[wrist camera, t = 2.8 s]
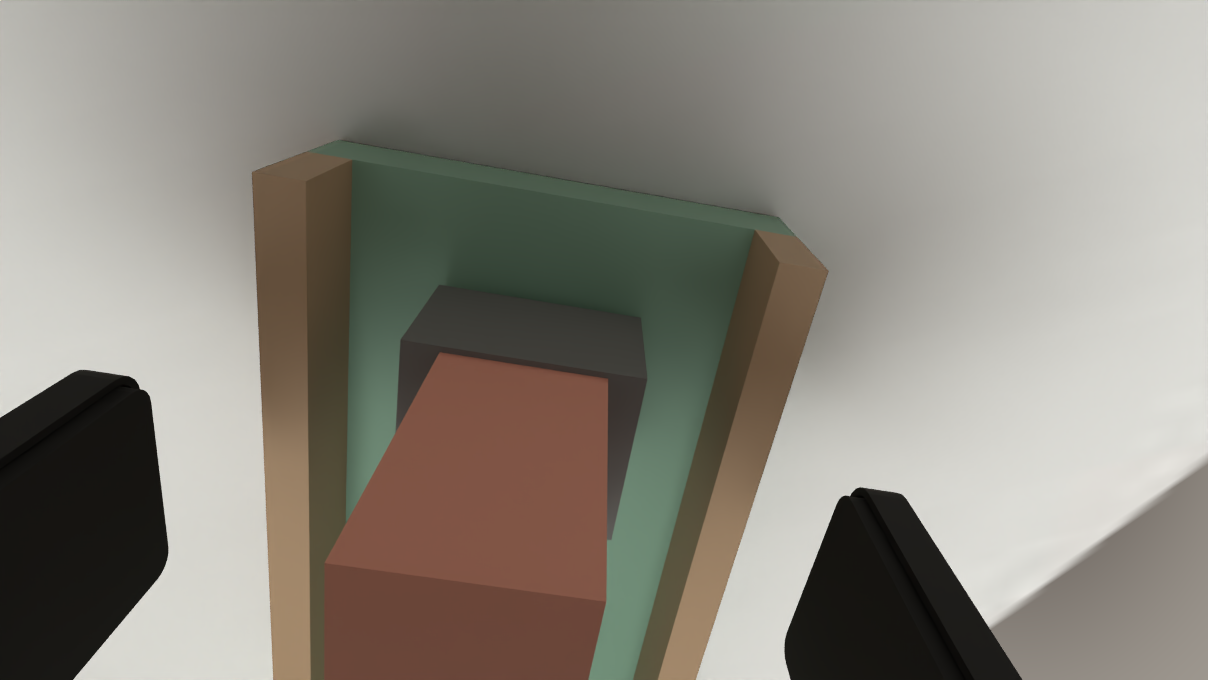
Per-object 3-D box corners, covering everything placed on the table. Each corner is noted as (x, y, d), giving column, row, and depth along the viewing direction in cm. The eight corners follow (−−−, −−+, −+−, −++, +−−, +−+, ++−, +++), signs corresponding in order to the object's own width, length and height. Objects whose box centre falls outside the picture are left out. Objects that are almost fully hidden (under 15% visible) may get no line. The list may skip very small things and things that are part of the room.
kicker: (439, 284, 12) (257, 545, 6) (641, 317, 13) (671, 603, 6) (428, 430, 14) (267, 773, 7) (611, 458, 14) (612, 813, 8)
